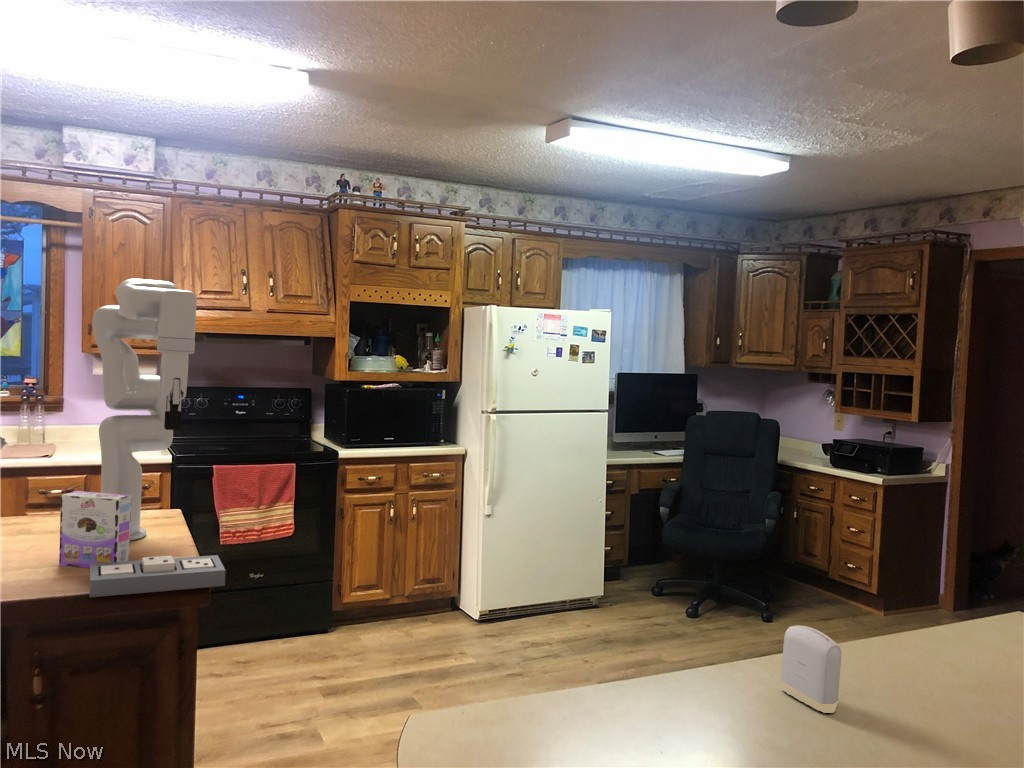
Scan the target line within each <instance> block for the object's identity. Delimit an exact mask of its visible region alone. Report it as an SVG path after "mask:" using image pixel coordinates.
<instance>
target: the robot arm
mask: <svg viewBox="0 0 1024 768" xmlns="http://www.w3.org/2000/svg"><path fill="white" fill-rule="evenodd" d="M115 296H116V301H117V303H118V305H117V304H116V305H115V304H110V305H109V304H108V305H103V306H100V307H99V308H97V309H96V310H95V311H94V313H93V316H92V333H93V336H94V340H95V342H96V345H97V348H98V351H99V353H100V357H101V362H102V363H101V364H102V386H103V387H102V388H103V398H104V403H105V405H106V407H107V408H108V409H110V410H113V411H122V412H124V411H128V412H129V411H134V412H135V411H136V412H137V411H138V412H139V411H147V412H149V413H150V414H119V415H111V416H109V417H105V418H104V419H103V420H101V422H100V425H99V428H98V437H99V438H98V439H99V444H100V445H99V446H100V451H101V452H100V453H101V454H100V455H101V471H100V472H101V474H100V493H109V494H122V495H131V522H130V541H134V540H139V539H142V538H144V537H145V536H146V535H147V530H146V529H145V528H144V527H141V515H142V514H141V507H142V486H143V468H142V465H141V464H140V462H139V461H138V460H137V458H136V457H134V455H133V454H134V453H138V452H155V451H156V452H157V451H165V450H167V449H168V448H170V447H171V446H172V444H173V440H174V439H173V437H174V431H180V430H181V429H182V428H181V427H182V411H181V410H182V401H183V400H182V399H184V398H186V397H187V388H188V378H189V377H188V376H189V355H193V354H195V346H196V345H195V344H196V343H195V342H196V321H197V319H196V318H197V301H198V300H197V295H196V294H195V292H193V291H191V290H184V289H179V288H178V287H177V286H176V284H175V283H172V282H170V281H166V280H156V279H144V278H136V277H135V278H128V279H125V280H124V281H122V282H121V283H119V284H118V286H117V288H116V290H115ZM124 339H128V340H129V339H132V340H149V341H151V340H152V341H157V345H156V349H157V350H156V352H157V353H161V359H160V367H159V368H160V371H159V375H157V374H156V375H155V374H141V373H140V370H139V367H140V366H139V357H138V355H137V352H136V351H135V350H134V349H133V348H132V347H131V345H130V344H128V342H127V341H125V340H124Z"/></svg>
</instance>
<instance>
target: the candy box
mask: <svg viewBox="0 0 1024 768" xmlns="http://www.w3.org/2000/svg"><path fill="white" fill-rule="evenodd" d="M59 516H60V519H59V520H60V522H59V557H58V558H59V559H58V566H59V567H61V566H62V567H69V568H71V567H72V568H83V569H84V568H85V569H90V564H94V563H109V562H124V561H130V545H131V544H130V542H131V540H130V522H131V495H122V494H109V493H101V492H96V491H83V490H75V491H72V492H69V493H67V492H66V493H64V494H61V495H60V515H59Z"/></svg>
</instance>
